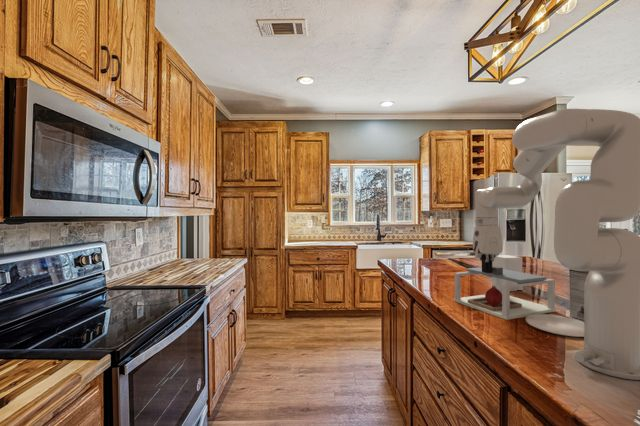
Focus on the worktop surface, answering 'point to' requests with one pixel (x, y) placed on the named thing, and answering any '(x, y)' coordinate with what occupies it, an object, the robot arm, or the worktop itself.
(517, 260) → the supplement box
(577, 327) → the plate
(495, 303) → the onion
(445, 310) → the worktop surface
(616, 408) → the worktop surface
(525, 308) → the white tiered shelf stand
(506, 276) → the slide cover
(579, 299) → the coffee box
